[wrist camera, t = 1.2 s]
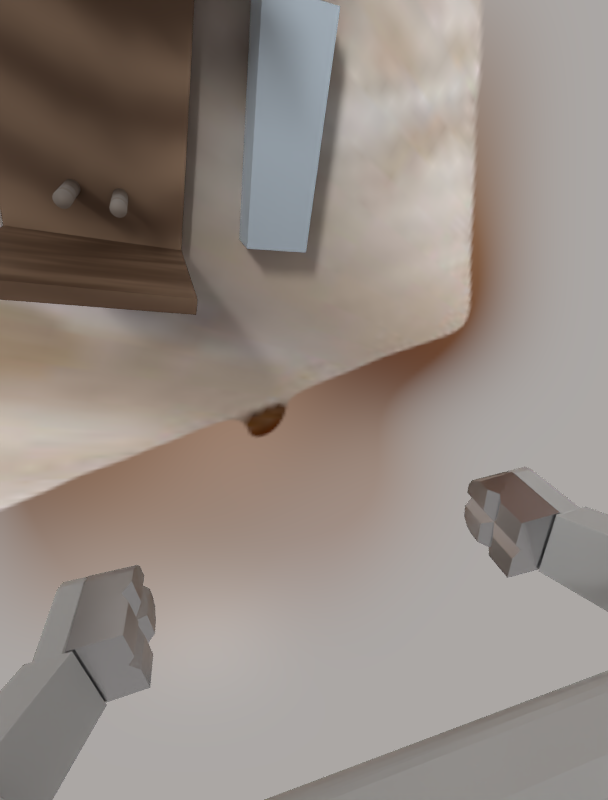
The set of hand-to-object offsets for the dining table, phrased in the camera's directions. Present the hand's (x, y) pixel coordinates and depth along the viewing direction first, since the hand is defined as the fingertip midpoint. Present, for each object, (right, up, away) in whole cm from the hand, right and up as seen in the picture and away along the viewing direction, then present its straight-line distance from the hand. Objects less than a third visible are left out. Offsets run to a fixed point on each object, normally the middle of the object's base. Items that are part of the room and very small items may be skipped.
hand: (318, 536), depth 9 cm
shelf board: (-3, +28, +27) cm, 39 cm away
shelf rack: (-17, +27, +21) cm, 38 cm away
